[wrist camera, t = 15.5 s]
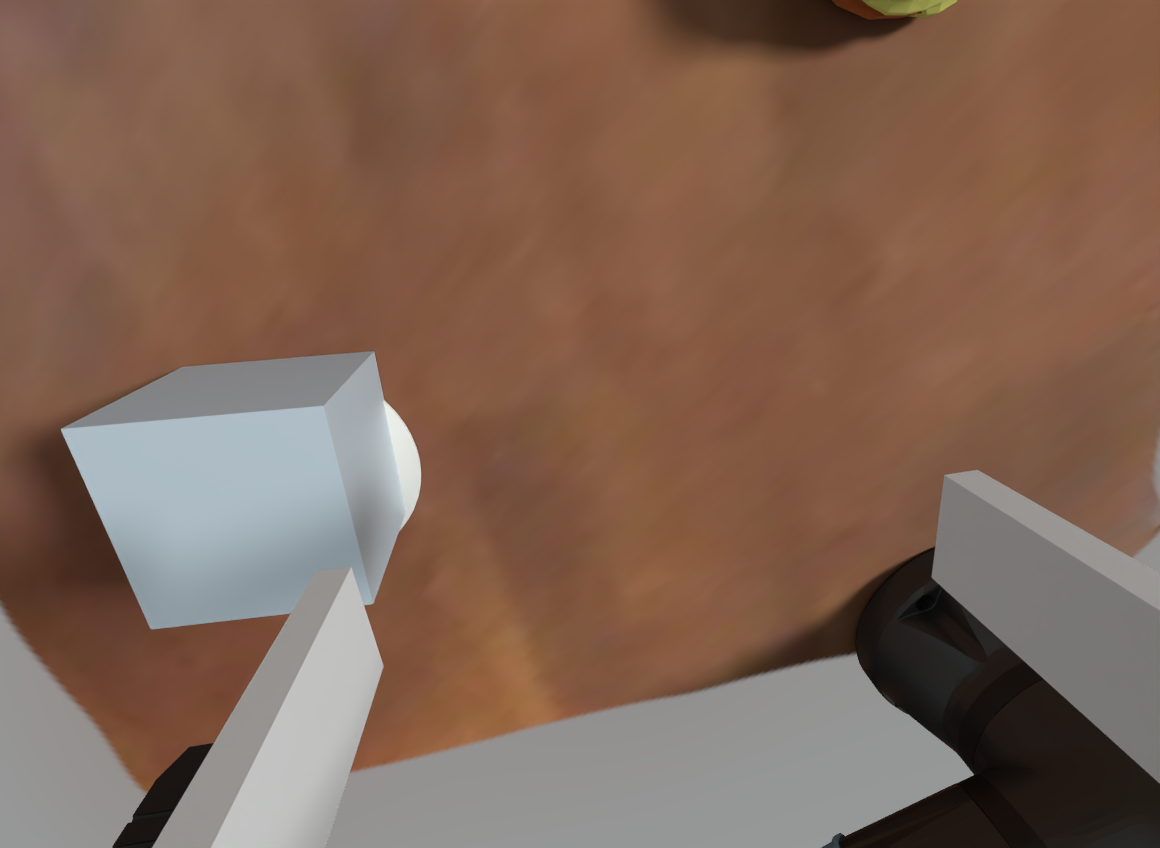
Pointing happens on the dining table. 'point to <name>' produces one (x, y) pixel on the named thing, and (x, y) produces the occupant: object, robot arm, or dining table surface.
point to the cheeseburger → (894, 8)
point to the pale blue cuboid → (244, 484)
